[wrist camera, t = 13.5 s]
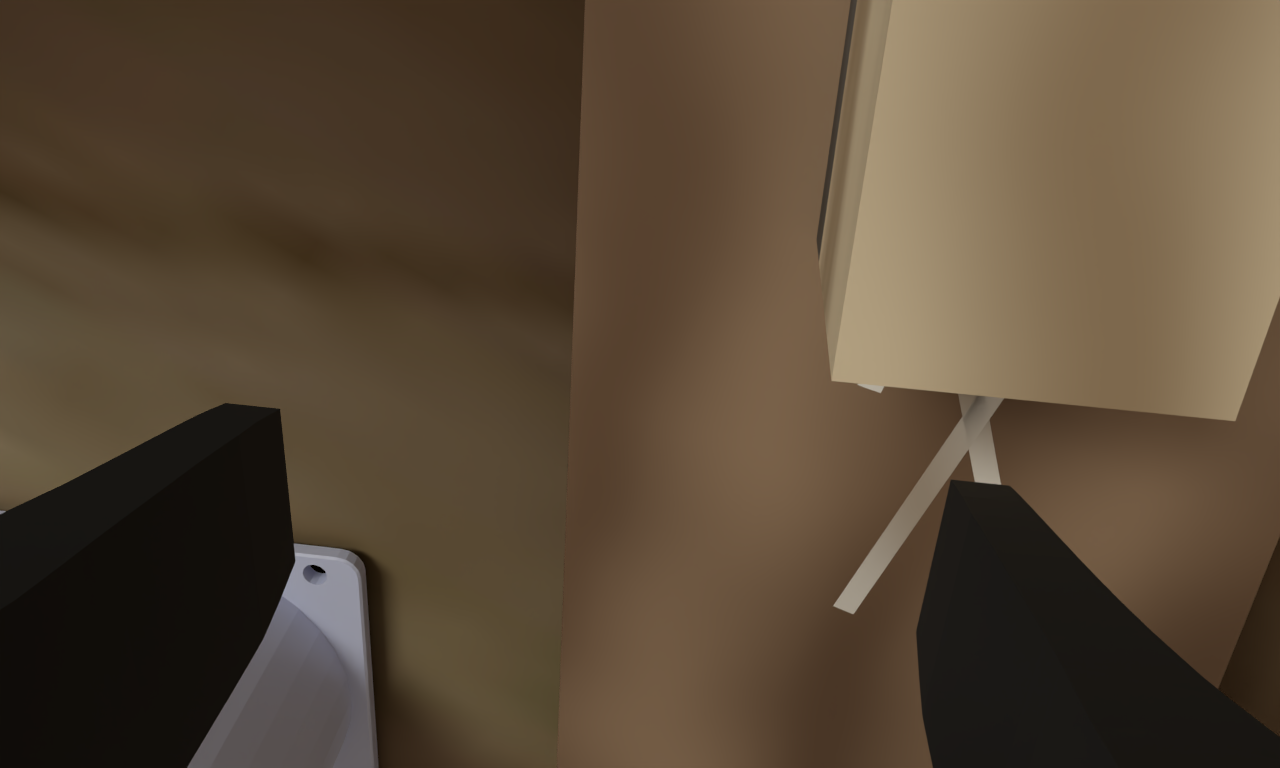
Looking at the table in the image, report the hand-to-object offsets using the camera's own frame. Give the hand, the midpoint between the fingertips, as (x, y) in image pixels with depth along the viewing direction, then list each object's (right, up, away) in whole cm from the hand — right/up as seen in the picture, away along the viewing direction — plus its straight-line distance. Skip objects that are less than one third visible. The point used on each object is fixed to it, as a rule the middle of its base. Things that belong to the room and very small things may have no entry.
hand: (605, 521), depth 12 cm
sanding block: (+6, +8, +4) cm, 11 cm away
